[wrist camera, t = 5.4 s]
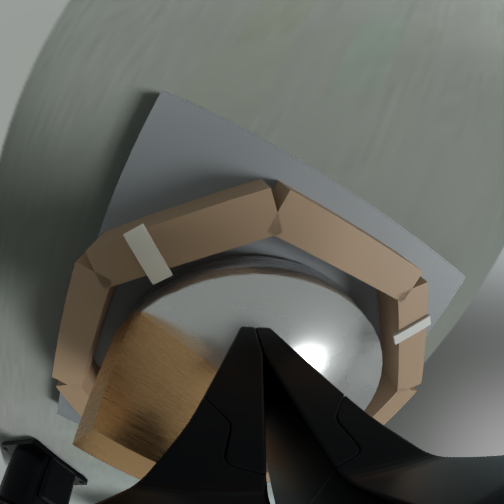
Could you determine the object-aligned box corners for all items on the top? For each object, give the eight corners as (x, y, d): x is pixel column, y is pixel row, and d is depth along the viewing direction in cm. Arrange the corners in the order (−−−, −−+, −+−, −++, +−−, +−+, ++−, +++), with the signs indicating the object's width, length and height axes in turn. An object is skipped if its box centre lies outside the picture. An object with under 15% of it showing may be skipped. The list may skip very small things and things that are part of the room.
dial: (403, 357, 14) (469, 451, 8) (243, 463, 16) (255, 555, 10) (245, 184, 10) (288, 265, 4) (72, 367, 12) (24, 479, 6)
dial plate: (282, 467, 19) (289, 501, 16) (62, 402, 15) (46, 439, 12) (455, 269, 14) (491, 295, 11) (167, 93, 10) (148, 79, 7)
